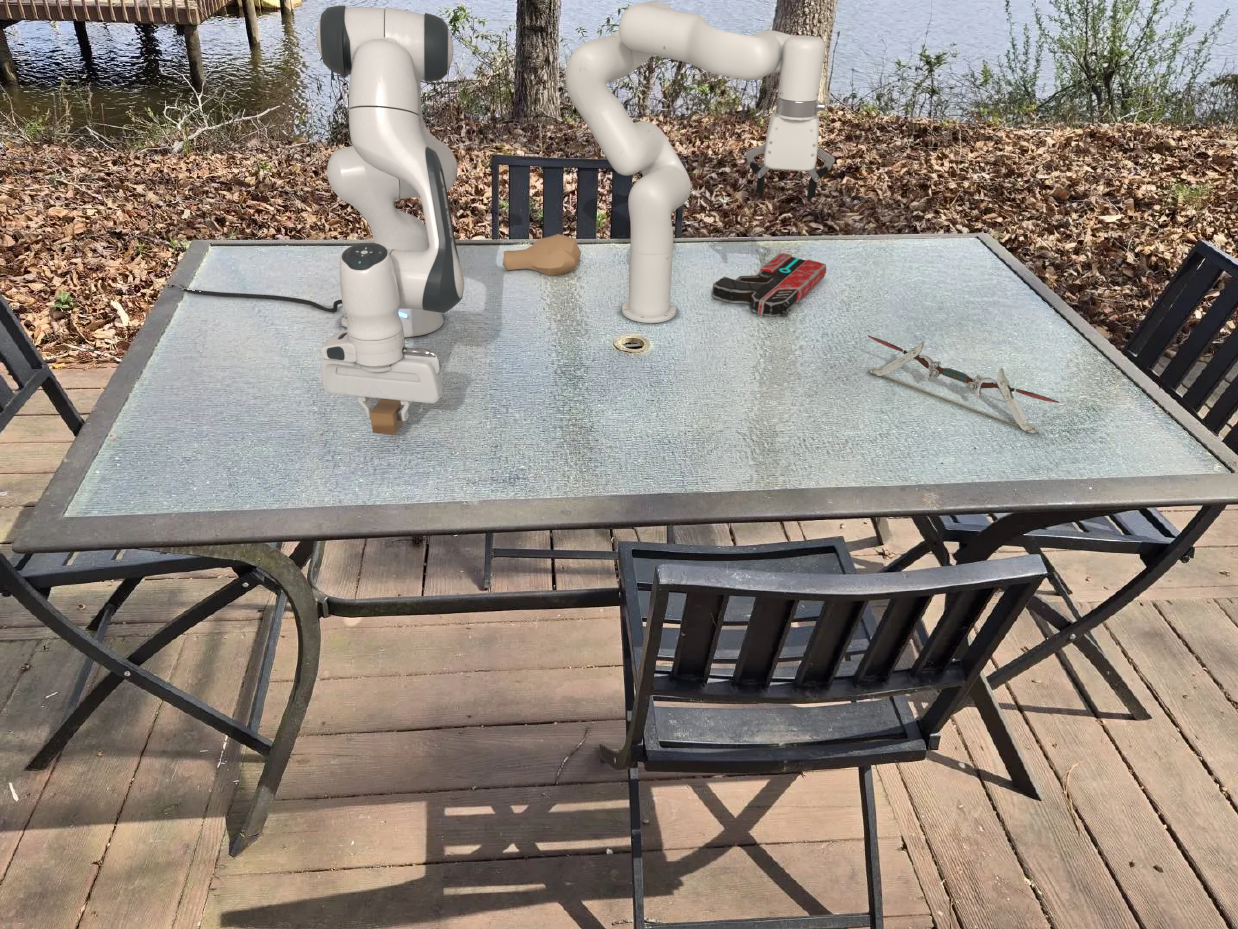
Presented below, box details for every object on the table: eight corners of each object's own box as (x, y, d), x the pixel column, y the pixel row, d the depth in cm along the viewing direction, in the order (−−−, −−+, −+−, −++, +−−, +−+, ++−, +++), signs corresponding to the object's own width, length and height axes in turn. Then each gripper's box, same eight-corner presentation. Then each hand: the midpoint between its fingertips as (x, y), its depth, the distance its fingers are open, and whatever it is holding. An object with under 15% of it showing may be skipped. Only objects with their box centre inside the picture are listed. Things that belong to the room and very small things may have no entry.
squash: (582, 279, 220) (577, 247, 214) (504, 286, 221) (496, 255, 215) (583, 257, 228) (579, 225, 221) (508, 264, 229) (501, 233, 223)
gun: (708, 284, 207) (784, 305, 199) (760, 245, 229) (831, 262, 221) (706, 302, 209) (781, 323, 201) (758, 261, 231) (828, 278, 223)
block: (395, 435, 150) (392, 414, 148) (372, 433, 150) (369, 412, 148) (405, 420, 154) (402, 400, 152) (383, 417, 154) (380, 398, 152)
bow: (1049, 436, 162) (1066, 388, 156) (1045, 439, 161) (1062, 391, 155) (863, 366, 183) (872, 322, 178) (859, 369, 182) (867, 325, 176)
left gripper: (444, 342, 145) (451, 414, 153) (326, 332, 147) (339, 403, 155) (432, 359, 140) (440, 433, 147) (310, 348, 142) (324, 421, 150)
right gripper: (841, 106, 169) (827, 195, 178) (751, 101, 171) (742, 189, 180) (843, 114, 163) (829, 206, 172) (750, 109, 165) (741, 200, 174)
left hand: (387, 418), depth 151 cm, fingers closed on block, 4 cm apart
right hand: (784, 197), depth 176 cm, fingers open, 9 cm apart
